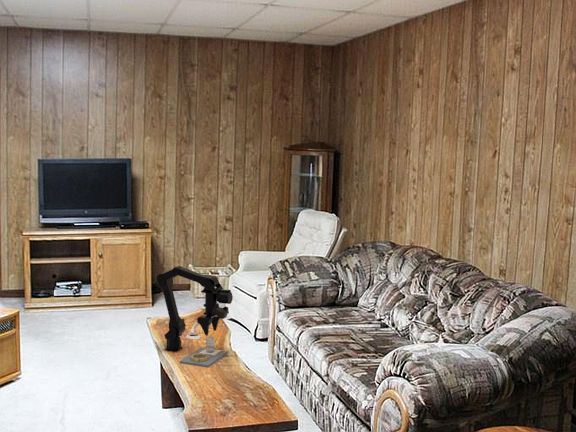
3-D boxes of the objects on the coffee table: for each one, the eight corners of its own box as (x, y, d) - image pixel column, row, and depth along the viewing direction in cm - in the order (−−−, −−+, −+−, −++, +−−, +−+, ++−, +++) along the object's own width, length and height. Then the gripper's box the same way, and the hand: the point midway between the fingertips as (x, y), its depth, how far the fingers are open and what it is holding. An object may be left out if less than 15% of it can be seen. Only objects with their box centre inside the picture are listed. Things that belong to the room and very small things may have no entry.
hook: (208, 330, 358) (197, 323, 356) (195, 347, 361) (184, 340, 359) (209, 323, 365) (198, 317, 363) (196, 340, 368) (185, 333, 366)
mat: (199, 353, 334) (199, 352, 334) (206, 348, 341) (206, 348, 341) (214, 355, 331) (214, 355, 331) (220, 350, 339) (221, 350, 339)
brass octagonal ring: (187, 360, 323) (187, 357, 323) (195, 355, 331) (195, 352, 330) (203, 363, 320) (203, 360, 320) (211, 357, 328) (211, 354, 328)
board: (179, 363, 322) (179, 361, 322) (200, 349, 343) (200, 347, 343) (208, 367, 317) (208, 365, 317) (227, 353, 338) (227, 351, 338)
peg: (212, 353, 334) (212, 339, 333) (204, 352, 335) (204, 338, 334) (215, 351, 337) (215, 337, 336) (208, 349, 339) (208, 336, 338)
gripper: (218, 308, 322) (217, 340, 324) (233, 299, 339) (233, 329, 341) (196, 305, 325) (196, 337, 327) (213, 297, 343) (213, 327, 345)
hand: (210, 333), depth 335 cm, fingers open, 9 cm apart
